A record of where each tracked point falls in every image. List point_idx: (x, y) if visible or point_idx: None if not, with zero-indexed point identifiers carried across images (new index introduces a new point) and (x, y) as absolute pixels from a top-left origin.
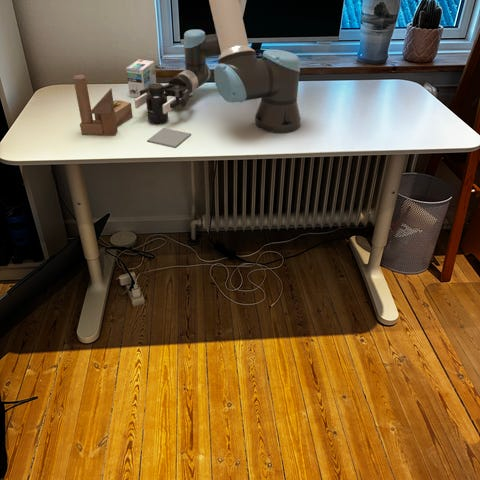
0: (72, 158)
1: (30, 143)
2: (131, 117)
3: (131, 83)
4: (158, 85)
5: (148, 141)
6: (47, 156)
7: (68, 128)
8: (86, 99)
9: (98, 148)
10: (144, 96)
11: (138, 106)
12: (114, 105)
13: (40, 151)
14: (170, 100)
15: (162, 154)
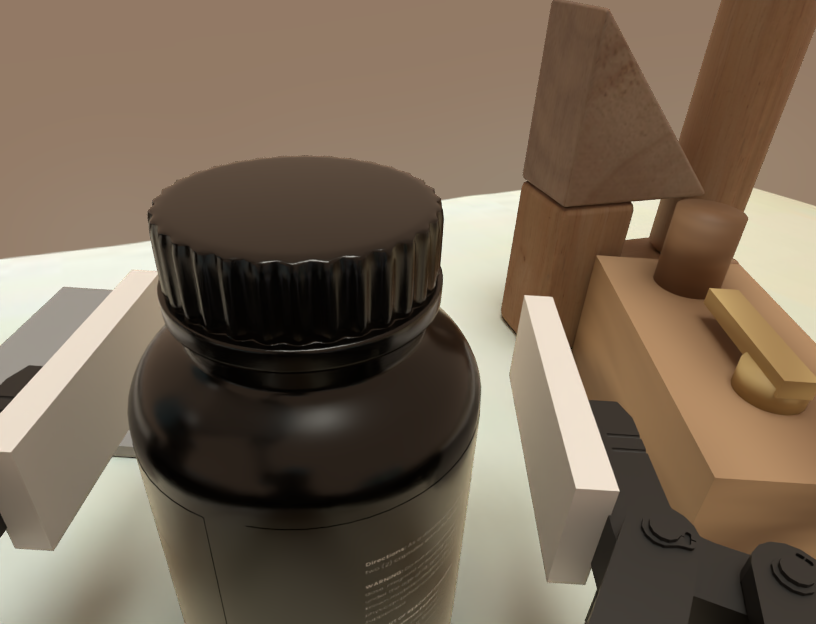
0: (508, 192)
1: (755, 220)
2: None
3: None
4: (249, 209)
5: None
6: None
7: (810, 318)
8: (698, 78)
9: (476, 237)
10: (553, 434)
11: (513, 382)
12: (728, 332)
13: (655, 199)
14: (55, 379)
15: (141, 250)
